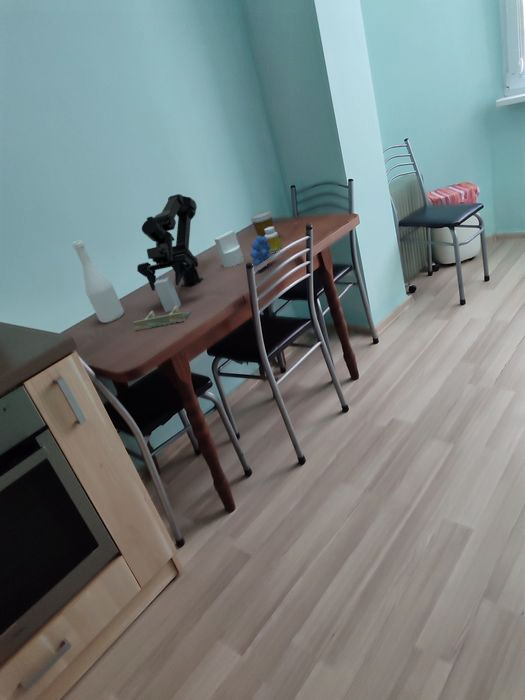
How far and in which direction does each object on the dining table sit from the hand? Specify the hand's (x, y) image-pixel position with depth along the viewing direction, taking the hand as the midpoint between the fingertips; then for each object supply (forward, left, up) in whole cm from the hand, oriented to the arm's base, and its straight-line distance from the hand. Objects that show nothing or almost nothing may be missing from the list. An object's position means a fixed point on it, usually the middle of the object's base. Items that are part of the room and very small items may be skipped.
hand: (164, 287), depth 168 cm
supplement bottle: (+9, +50, -8) cm, 52 cm away
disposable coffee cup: (-4, +62, -8) cm, 63 cm away
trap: (+4, -8, -8) cm, 12 cm away
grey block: (0, 0, -8) cm, 8 cm away
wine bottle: (-25, -10, -8) cm, 28 cm away
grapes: (+15, +34, -8) cm, 39 cm away
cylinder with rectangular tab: (-5, +39, -8) cm, 41 cm away
